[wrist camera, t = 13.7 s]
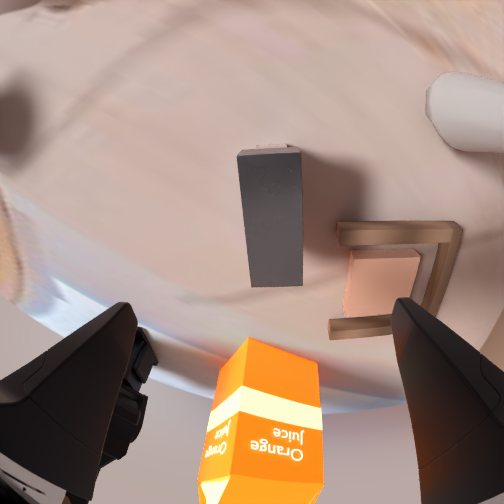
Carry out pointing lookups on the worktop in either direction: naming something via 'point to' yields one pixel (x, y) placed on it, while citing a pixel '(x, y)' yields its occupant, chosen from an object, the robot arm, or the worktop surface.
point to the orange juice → (263, 431)
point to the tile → (378, 280)
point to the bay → (399, 234)
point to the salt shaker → (467, 111)
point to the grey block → (272, 214)
